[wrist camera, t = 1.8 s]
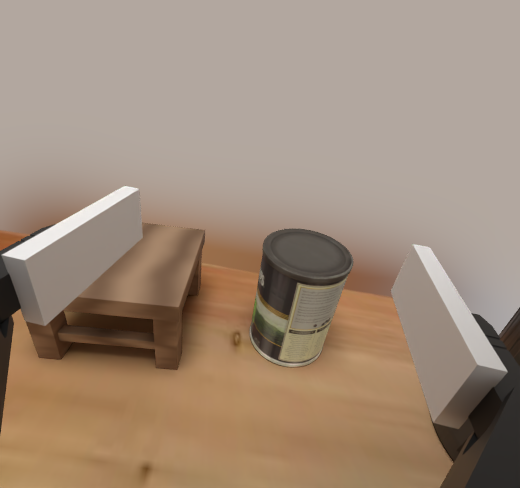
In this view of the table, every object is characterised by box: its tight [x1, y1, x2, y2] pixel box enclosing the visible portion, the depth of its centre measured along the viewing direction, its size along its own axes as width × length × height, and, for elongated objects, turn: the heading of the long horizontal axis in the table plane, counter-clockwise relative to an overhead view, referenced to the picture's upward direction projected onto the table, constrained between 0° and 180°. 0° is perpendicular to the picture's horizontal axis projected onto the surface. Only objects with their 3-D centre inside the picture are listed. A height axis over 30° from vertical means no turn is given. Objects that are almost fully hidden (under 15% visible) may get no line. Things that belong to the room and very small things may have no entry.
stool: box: [26, 223, 205, 370], centre depth 38 cm, size 16×16×10 cm
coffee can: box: [250, 229, 353, 367], centre depth 38 cm, size 10×10×14 cm
